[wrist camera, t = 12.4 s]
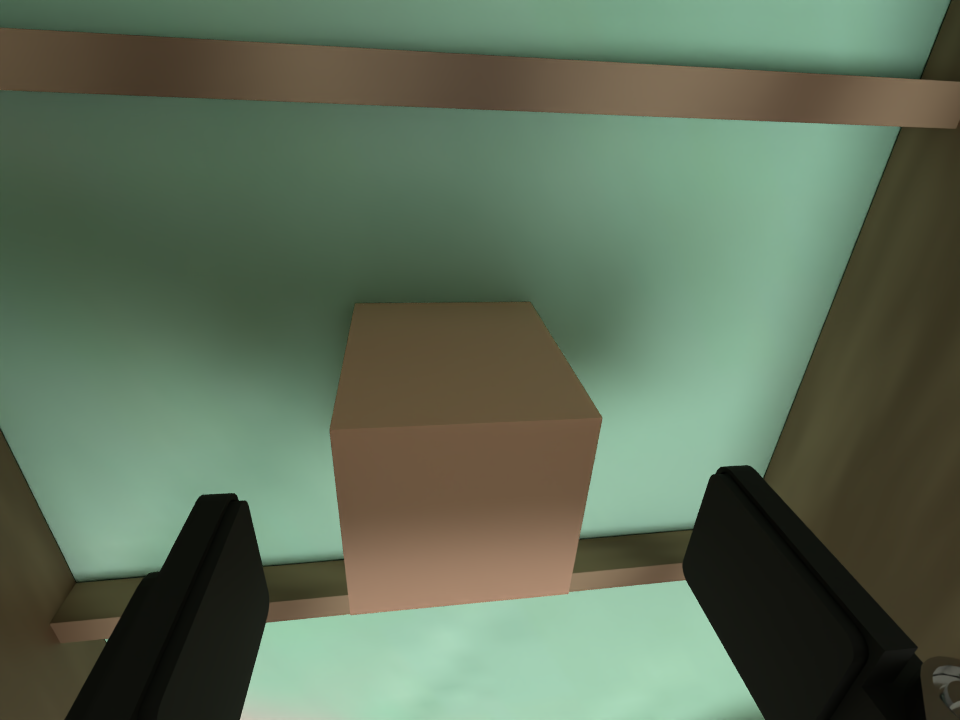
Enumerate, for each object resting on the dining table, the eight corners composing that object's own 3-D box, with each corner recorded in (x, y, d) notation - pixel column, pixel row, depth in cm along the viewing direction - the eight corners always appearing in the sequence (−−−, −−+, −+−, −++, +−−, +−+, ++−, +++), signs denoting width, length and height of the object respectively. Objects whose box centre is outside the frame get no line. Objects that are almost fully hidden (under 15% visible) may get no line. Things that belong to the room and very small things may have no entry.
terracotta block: (365, 446, 16) (350, 615, 11) (354, 302, 14) (329, 429, 9) (516, 439, 17) (568, 593, 12) (529, 301, 15) (602, 417, 10)
